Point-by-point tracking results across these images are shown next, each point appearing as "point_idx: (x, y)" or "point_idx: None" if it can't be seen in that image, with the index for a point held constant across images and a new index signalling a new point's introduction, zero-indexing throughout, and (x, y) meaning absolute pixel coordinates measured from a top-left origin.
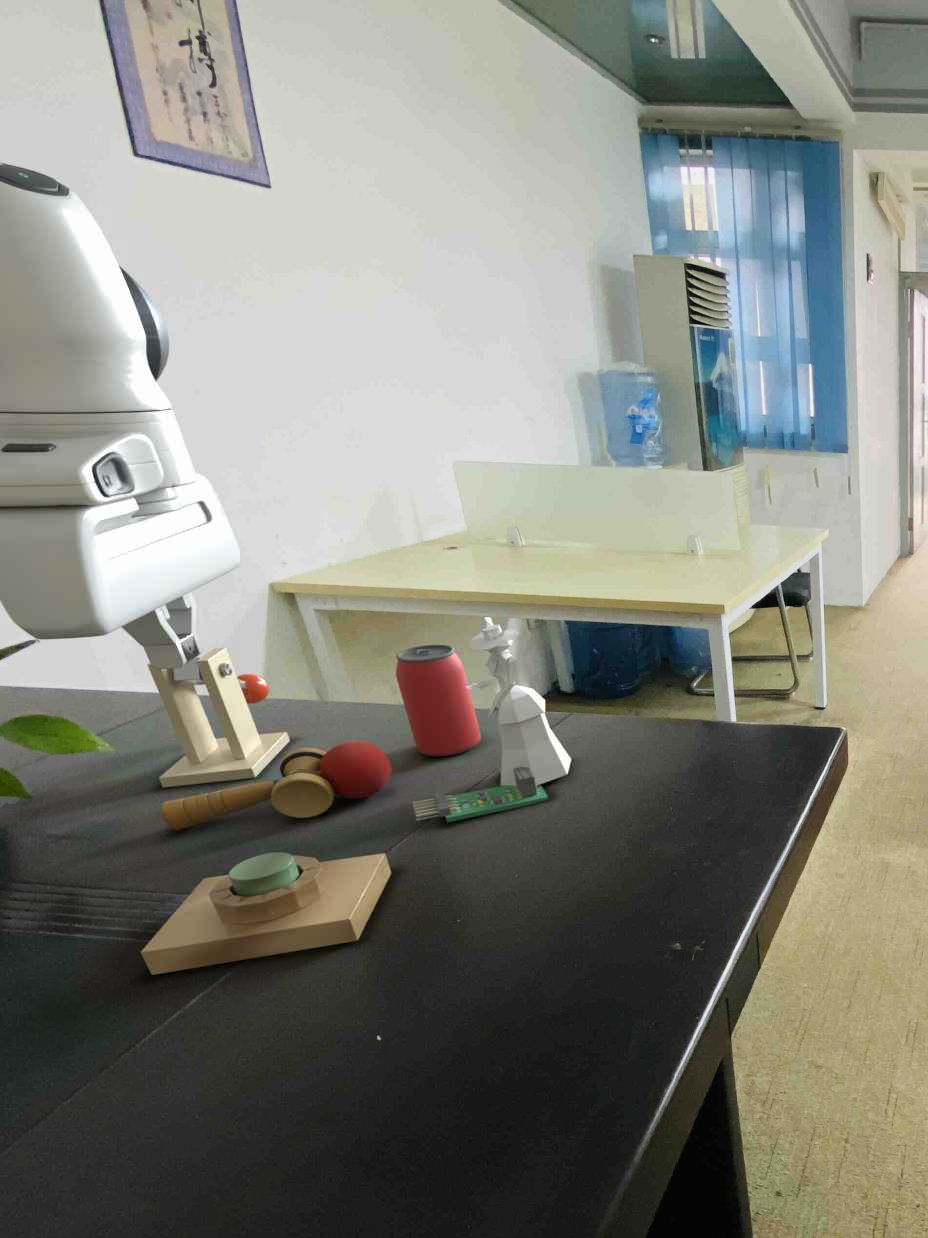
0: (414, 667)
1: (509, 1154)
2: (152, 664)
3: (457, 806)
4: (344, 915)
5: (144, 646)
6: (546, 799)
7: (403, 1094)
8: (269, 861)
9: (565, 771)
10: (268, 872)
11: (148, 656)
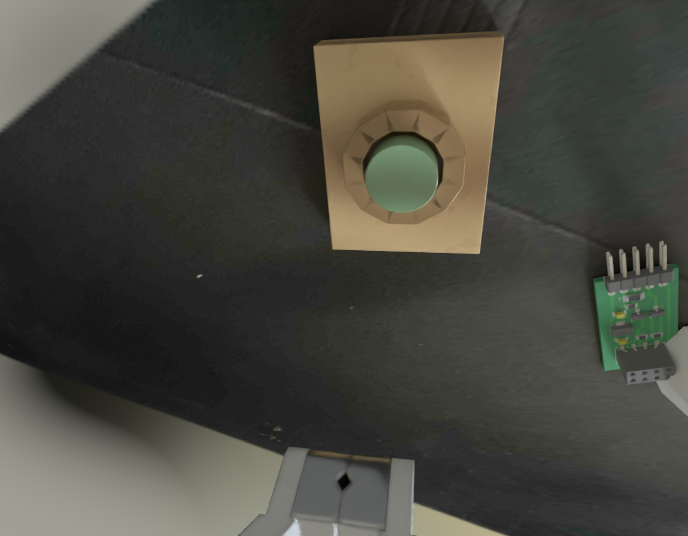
0: None
1: (104, 350)
2: (287, 454)
3: (630, 289)
4: (340, 243)
5: (267, 512)
6: (603, 366)
7: (145, 298)
8: (410, 186)
9: (664, 394)
10: (377, 195)
11: (277, 479)
